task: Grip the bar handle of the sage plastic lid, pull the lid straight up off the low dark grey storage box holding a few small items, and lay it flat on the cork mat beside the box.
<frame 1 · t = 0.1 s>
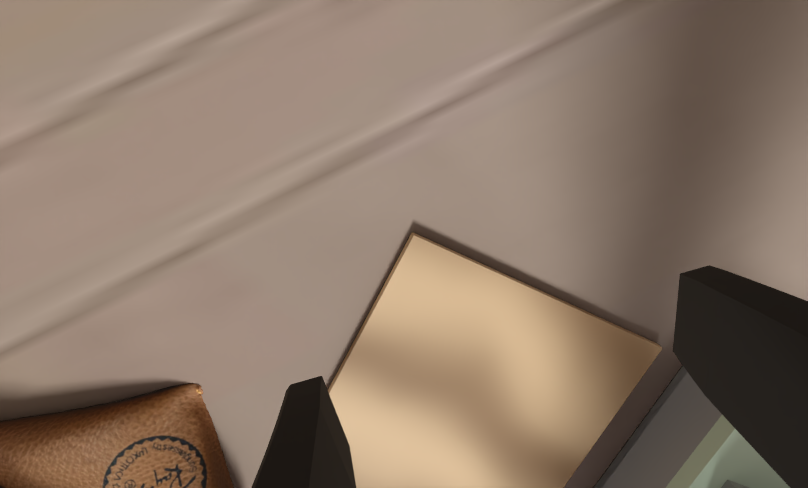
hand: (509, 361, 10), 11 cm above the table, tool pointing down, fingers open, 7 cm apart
storage box: (707, 458, 27), on the table
sunglasses case: (18, 482, 22), on the table
cork mat: (470, 411, 23), on the table
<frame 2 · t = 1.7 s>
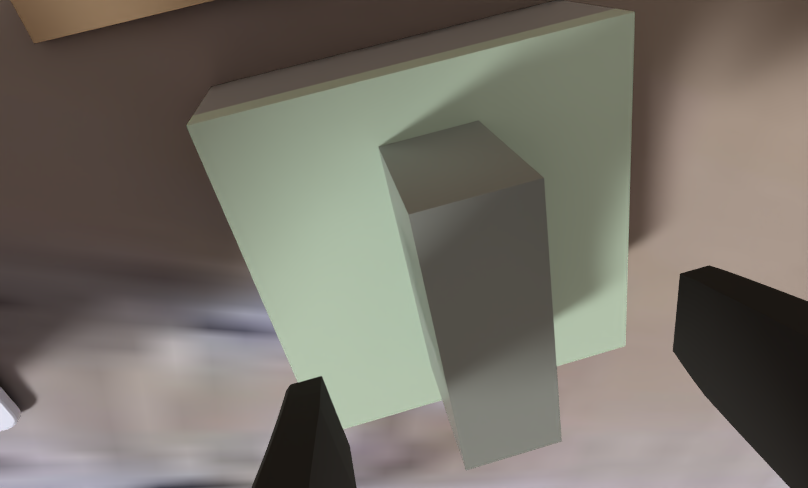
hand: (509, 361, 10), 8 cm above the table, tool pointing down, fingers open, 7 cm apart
storage box: (421, 200, 17), on the table
lid: (437, 231, 15), point 2 cm above the table, touching storage box
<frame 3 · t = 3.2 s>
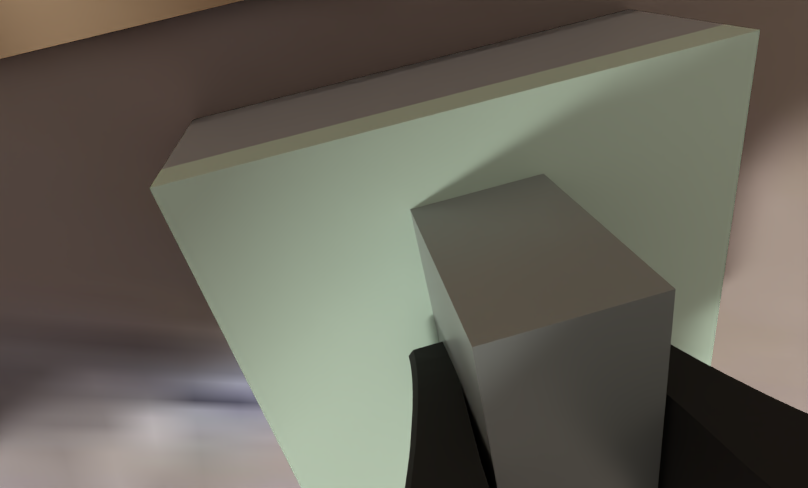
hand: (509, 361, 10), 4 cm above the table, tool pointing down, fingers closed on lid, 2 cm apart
storage box: (451, 251, 14), on the table
lid: (475, 297, 12), point 2 cm above the table, touching gripper, storage box
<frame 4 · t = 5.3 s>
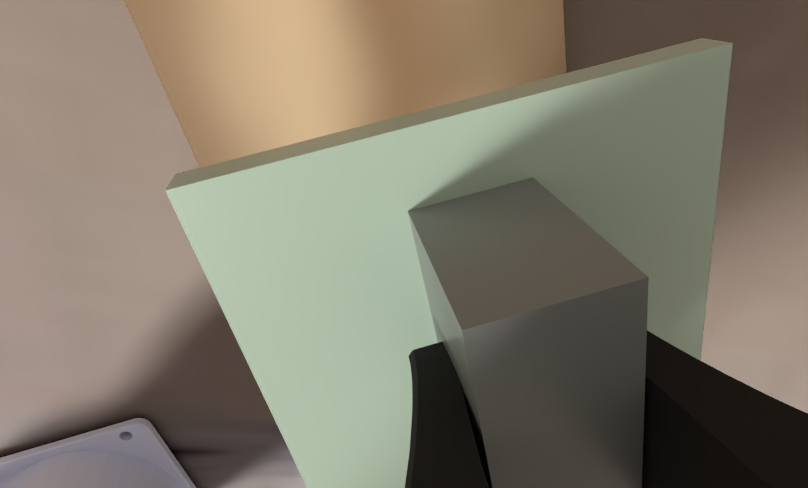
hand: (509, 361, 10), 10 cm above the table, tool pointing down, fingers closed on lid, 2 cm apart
cork mat: (386, 122, 18), on the table
lid: (472, 298, 12), point 8 cm above the table, touching gripper
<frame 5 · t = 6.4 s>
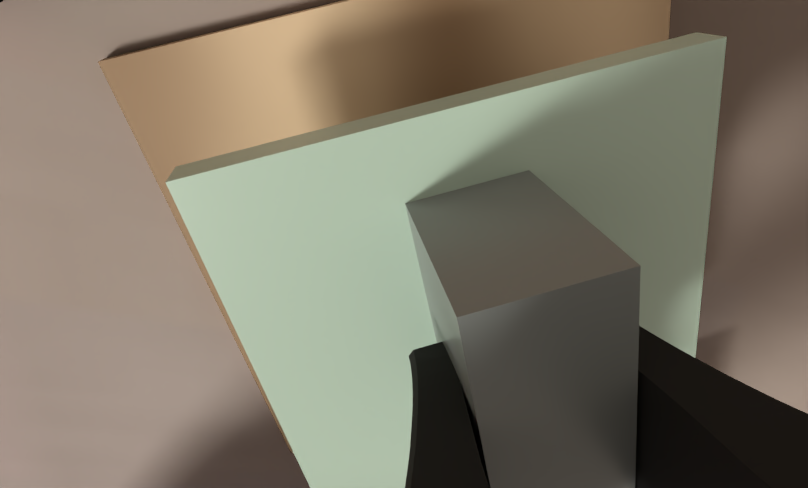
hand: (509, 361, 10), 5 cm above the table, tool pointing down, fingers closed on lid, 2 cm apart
cork mat: (440, 234, 15), on the table
lid: (469, 292, 13), point 3 cm above the table, touching gripper
when the fingers open (4 cm above the table, at t = 7.4 s): lid stays where it is, resting on cork mat.
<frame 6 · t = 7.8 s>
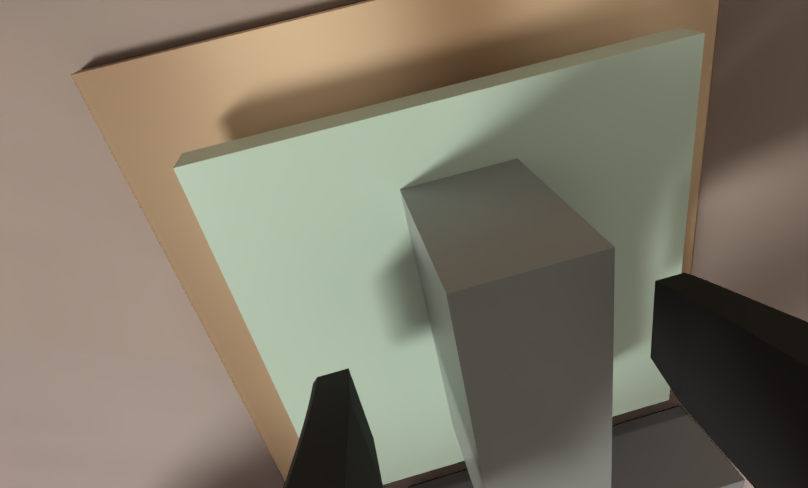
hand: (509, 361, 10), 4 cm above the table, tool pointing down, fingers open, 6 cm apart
cork mat: (456, 260, 13), on the table
lid: (461, 274, 13), resting on cork mat
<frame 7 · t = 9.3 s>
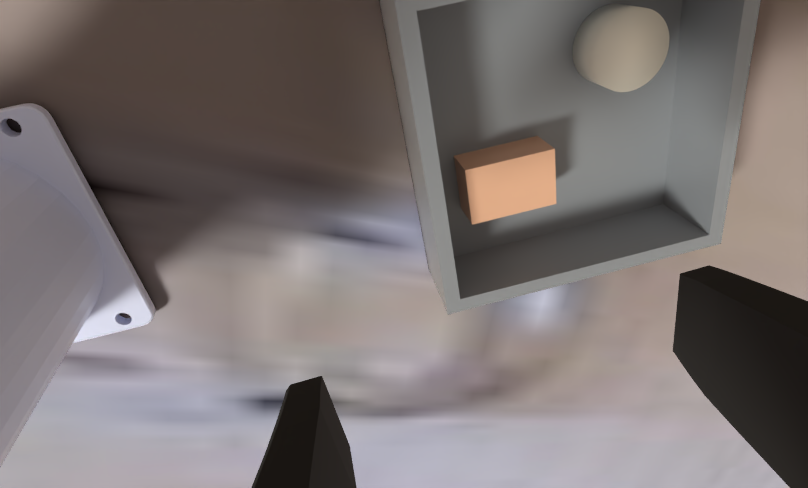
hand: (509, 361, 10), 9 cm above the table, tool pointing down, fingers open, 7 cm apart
storage box: (545, 115, 18), on the table
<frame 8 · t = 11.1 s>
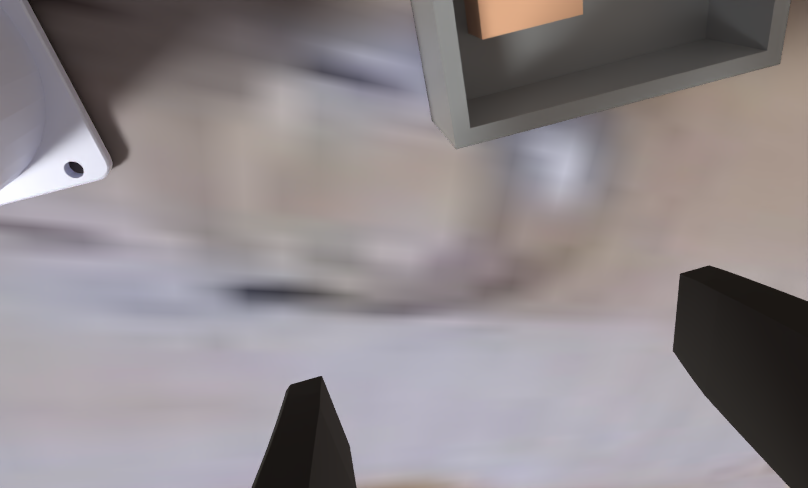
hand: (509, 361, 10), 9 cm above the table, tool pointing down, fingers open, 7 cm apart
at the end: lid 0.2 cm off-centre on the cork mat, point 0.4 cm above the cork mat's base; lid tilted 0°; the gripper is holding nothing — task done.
